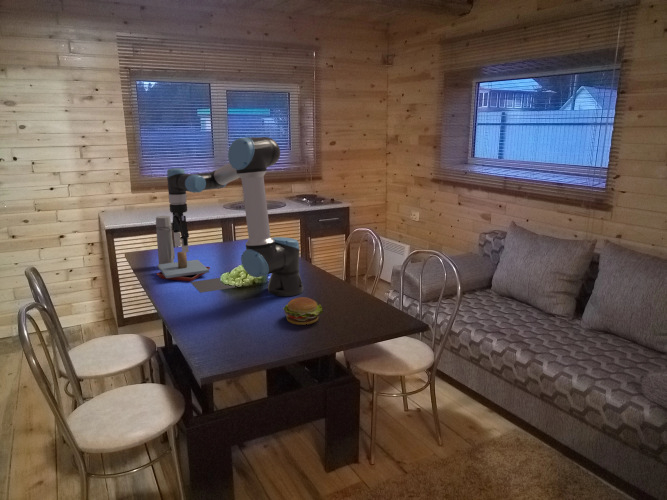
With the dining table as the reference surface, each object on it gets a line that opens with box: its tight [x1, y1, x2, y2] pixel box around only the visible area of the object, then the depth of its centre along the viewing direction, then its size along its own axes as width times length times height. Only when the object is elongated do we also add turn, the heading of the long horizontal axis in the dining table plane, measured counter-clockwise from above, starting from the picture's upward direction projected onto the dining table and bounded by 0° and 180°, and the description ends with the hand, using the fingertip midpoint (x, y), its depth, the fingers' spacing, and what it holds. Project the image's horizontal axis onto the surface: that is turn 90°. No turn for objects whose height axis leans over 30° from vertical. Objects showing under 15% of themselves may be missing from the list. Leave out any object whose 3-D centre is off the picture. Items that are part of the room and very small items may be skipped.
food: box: [282, 296, 324, 326], centre depth 185 cm, size 14×14×8 cm
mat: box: [189, 277, 236, 294], centre depth 222 cm, size 16×16×1 cm
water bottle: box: [155, 215, 175, 264], centre depth 244 cm, size 9×8×25 cm
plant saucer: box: [156, 266, 211, 282], centre depth 234 cm, size 18×18×3 cm
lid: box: [156, 251, 210, 278], centre depth 233 cm, size 19×19×8 cm
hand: (181, 249), depth 232 cm, fingers open, 13 cm apart
